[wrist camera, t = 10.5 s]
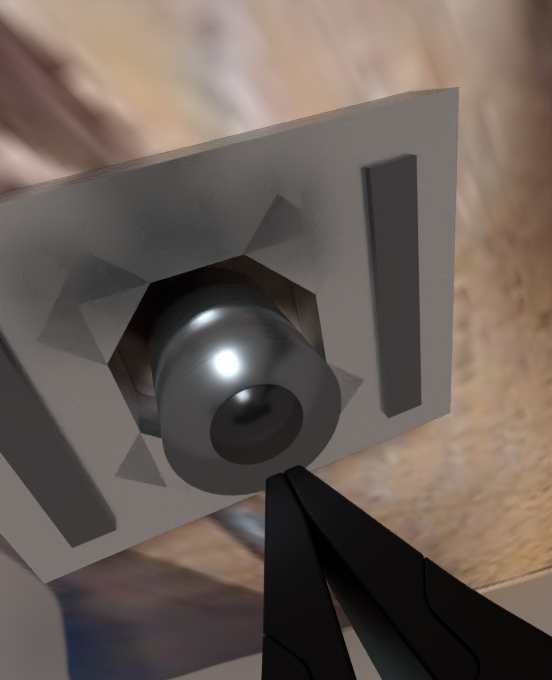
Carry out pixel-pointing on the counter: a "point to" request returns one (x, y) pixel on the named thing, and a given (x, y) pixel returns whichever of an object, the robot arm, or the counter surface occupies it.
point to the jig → (198, 251)
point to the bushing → (235, 384)
